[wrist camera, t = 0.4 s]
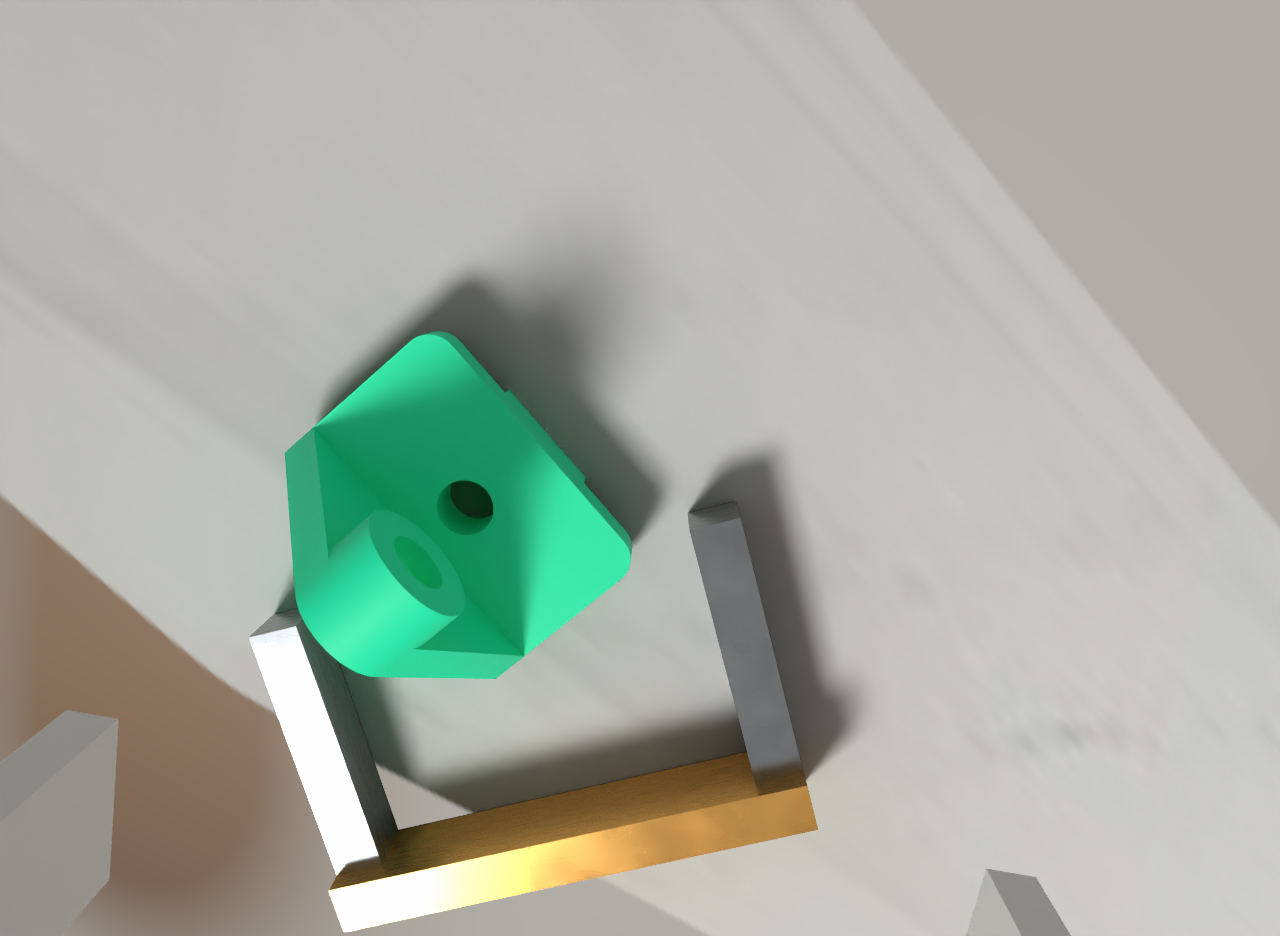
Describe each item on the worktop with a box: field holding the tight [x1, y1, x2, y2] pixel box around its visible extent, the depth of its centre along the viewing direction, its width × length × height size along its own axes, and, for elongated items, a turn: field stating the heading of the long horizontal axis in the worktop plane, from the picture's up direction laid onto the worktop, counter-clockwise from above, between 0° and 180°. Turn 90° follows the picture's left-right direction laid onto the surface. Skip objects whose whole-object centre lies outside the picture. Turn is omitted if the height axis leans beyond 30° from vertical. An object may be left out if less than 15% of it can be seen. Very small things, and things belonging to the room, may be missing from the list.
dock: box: [249, 501, 818, 932], centre depth 39 cm, size 13×20×4 cm, turn 105°
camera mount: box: [285, 331, 632, 679], centre depth 34 cm, size 12×8×10 cm, turn 40°
